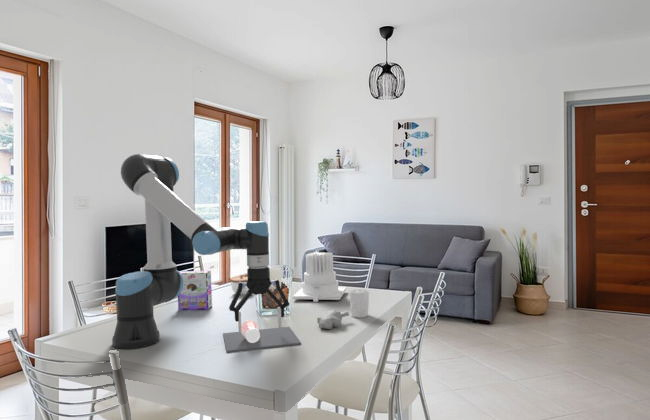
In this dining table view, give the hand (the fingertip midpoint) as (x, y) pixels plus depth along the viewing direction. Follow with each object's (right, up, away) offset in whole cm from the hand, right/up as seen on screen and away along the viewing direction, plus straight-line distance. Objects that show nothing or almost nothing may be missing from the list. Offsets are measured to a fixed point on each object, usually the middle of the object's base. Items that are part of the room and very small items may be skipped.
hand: (260, 328), depth 161 cm
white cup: (+36, -2, +28) cm, 46 cm away
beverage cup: (-1, 0, -8) cm, 8 cm away
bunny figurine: (+25, -3, +16) cm, 30 cm away
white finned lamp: (+20, -1, +65) cm, 68 cm away
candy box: (-35, -3, +48) cm, 60 cm away
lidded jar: (-20, -2, +77) cm, 80 cm away
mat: (0, -4, 0) cm, 4 cm away
